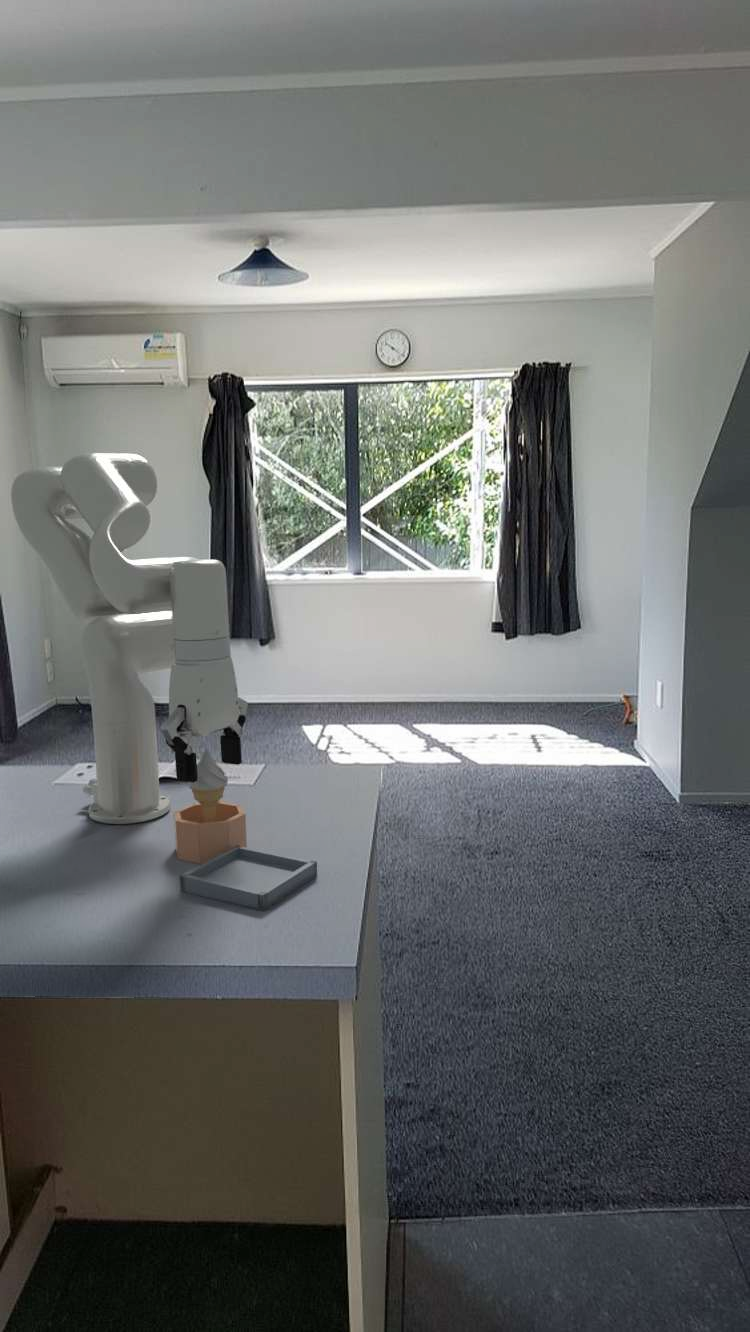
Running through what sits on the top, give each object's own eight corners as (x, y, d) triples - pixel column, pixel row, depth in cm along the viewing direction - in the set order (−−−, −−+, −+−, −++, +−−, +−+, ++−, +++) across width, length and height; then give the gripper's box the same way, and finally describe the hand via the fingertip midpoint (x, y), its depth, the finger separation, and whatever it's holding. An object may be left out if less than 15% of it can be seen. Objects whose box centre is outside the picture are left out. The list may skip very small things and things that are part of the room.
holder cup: (162, 855, 134) (160, 817, 133) (206, 833, 142) (204, 798, 141) (216, 867, 129) (214, 828, 128) (258, 844, 138) (257, 807, 137)
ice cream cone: (222, 858, 133) (218, 753, 130) (184, 855, 134) (179, 752, 131) (236, 843, 138) (232, 743, 135) (199, 841, 139) (195, 741, 136)
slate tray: (180, 890, 122) (179, 875, 122) (237, 858, 132) (237, 845, 132) (263, 910, 116) (263, 895, 115) (317, 875, 126) (316, 861, 126)
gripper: (220, 641, 140) (227, 754, 143) (137, 658, 125) (146, 785, 128) (262, 642, 136) (268, 759, 139) (181, 661, 121) (190, 791, 124)
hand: (210, 771), depth 133 cm, fingers open, 9 cm apart
